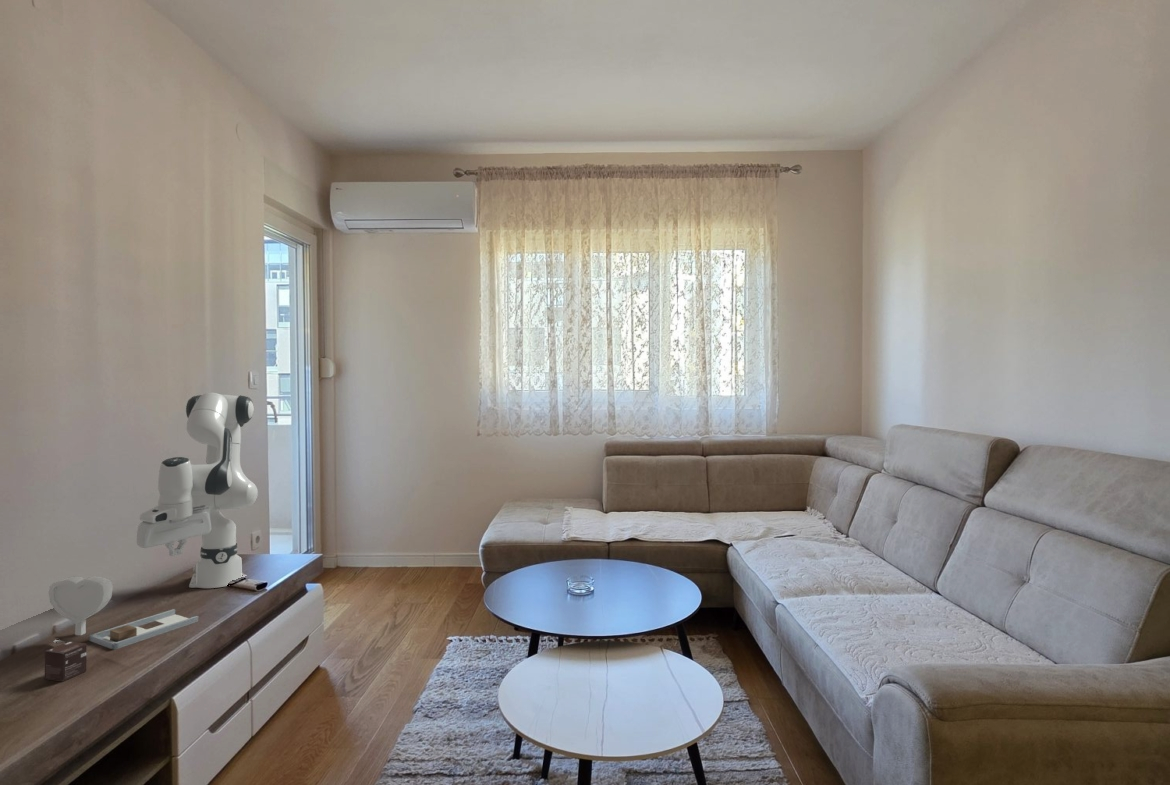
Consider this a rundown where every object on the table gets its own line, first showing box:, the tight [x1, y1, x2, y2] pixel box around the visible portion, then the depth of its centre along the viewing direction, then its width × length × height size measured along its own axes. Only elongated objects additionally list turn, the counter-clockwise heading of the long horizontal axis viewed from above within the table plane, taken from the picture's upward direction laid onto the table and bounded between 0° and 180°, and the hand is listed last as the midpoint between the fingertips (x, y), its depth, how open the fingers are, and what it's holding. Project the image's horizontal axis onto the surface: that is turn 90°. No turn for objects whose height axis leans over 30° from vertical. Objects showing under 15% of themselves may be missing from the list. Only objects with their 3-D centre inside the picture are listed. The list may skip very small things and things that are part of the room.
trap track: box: [88, 608, 199, 651], centre depth 178 cm, size 23×13×3 cm, turn 154°
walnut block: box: [109, 625, 137, 642], centre depth 171 cm, size 4×4×4 cm
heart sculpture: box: [48, 575, 114, 644], centre depth 175 cm, size 16×5×18 cm, turn 93°
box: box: [44, 641, 87, 682], centre depth 154 cm, size 6×6×7 cm
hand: (175, 554), depth 185 cm, fingers closed
